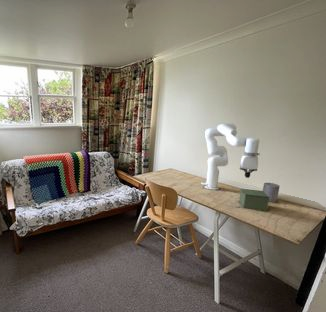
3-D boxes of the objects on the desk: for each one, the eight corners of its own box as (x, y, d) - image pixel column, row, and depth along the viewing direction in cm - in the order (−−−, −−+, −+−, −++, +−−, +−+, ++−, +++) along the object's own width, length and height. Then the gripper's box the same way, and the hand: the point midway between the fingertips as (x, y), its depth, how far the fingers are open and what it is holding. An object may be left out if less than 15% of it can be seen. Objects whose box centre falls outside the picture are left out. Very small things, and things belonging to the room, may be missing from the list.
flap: (245, 194, 145) (245, 194, 145) (241, 188, 156) (241, 188, 156) (257, 196, 142) (257, 195, 142) (251, 190, 153) (251, 189, 153)
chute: (243, 207, 147) (245, 194, 145) (239, 201, 158) (241, 188, 156) (266, 211, 141) (269, 197, 139) (260, 204, 152) (262, 190, 150)
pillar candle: (259, 196, 166) (262, 180, 163) (274, 198, 161) (277, 182, 158) (263, 201, 158) (266, 184, 155) (278, 203, 153) (282, 185, 150)
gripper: (261, 154, 144) (257, 177, 148) (237, 153, 151) (234, 174, 154) (265, 156, 138) (261, 179, 141) (239, 154, 144) (236, 177, 148)
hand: (247, 177), depth 148 cm, fingers closed
